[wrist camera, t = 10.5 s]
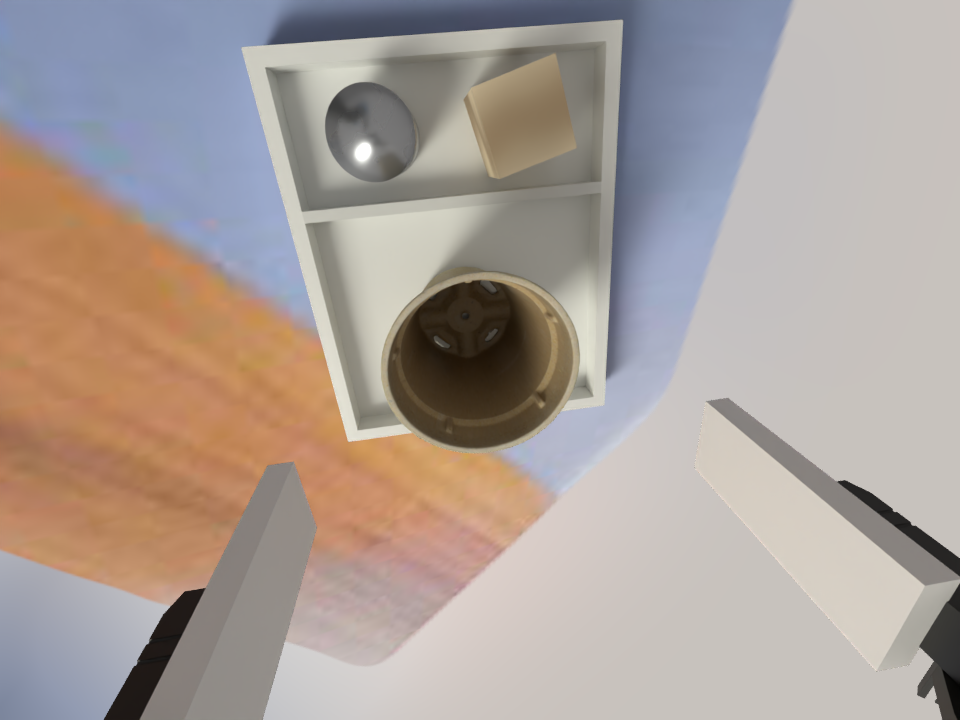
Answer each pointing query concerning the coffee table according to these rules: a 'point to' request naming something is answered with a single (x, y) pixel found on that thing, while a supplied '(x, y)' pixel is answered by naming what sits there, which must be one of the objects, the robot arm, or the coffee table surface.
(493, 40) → the tray
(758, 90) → the coffee table surface
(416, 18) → the coffee table surface
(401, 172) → the metal part
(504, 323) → the flower pot
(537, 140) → the beech part
